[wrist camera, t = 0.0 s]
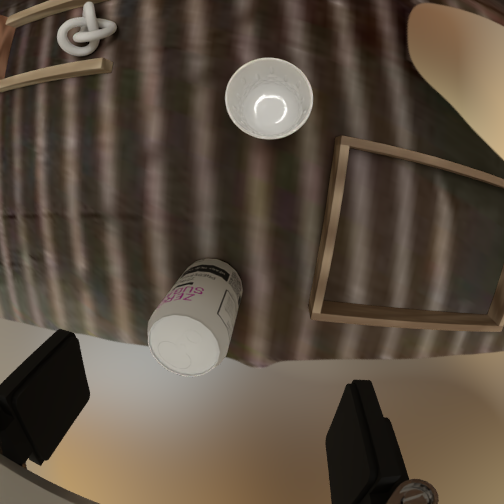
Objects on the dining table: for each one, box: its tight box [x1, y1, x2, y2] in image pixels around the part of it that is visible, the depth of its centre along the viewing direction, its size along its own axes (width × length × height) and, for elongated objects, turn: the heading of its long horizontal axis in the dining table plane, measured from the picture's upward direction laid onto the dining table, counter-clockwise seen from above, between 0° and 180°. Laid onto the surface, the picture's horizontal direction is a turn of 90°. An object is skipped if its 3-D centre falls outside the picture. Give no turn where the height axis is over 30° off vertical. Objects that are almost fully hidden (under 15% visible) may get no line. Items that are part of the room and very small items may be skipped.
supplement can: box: [147, 258, 243, 377], centre depth 36 cm, size 8×8×15 cm
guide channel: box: [0, 0, 113, 93], centre depth 31 cm, size 14×26×5 cm, turn 83°
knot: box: [57, 2, 117, 56], centre depth 30 cm, size 8×8×6 cm
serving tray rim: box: [308, 136, 504, 332], centre depth 37 cm, size 22×32×4 cm
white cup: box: [225, 58, 313, 140], centre depth 31 cm, size 8×8×10 cm
